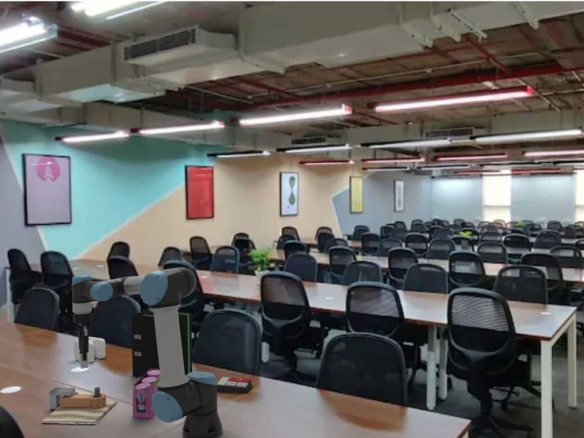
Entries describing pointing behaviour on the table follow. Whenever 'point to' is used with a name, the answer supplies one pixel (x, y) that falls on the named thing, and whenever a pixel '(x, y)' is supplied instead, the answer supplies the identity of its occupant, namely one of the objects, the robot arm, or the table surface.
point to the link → (83, 400)
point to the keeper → (59, 396)
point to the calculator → (234, 385)
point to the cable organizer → (91, 349)
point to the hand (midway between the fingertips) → (84, 367)
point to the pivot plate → (80, 412)
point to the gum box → (145, 394)
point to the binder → (147, 342)
